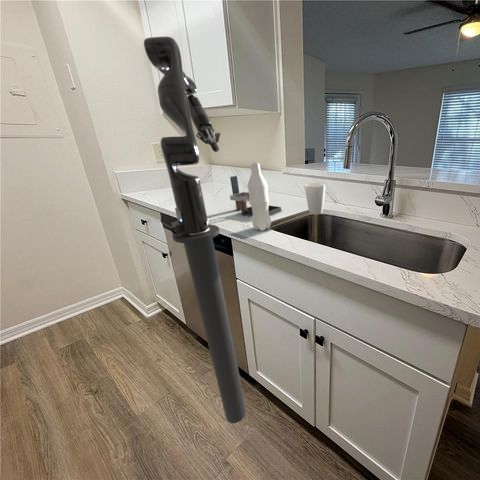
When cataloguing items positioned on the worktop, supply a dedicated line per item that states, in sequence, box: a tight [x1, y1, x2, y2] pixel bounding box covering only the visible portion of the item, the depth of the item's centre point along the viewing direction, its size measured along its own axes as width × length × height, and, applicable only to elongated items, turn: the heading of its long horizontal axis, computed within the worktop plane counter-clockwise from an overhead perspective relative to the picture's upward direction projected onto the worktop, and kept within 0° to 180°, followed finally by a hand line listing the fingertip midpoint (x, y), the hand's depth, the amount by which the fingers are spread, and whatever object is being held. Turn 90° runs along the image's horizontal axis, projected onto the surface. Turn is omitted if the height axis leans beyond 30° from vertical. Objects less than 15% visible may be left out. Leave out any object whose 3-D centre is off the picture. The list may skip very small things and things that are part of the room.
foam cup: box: [304, 182, 326, 216], centre depth 119 cm, size 10×9×13 cm
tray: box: [240, 205, 282, 217], centre depth 123 cm, size 14×12×2 cm
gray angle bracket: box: [229, 175, 250, 204], centre depth 124 cm, size 12×12×11 cm
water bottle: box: [247, 162, 272, 232], centre depth 98 cm, size 7×7×25 cm
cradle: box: [234, 200, 248, 216], centre depth 126 cm, size 10×15×7 cm
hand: (216, 150), depth 127 cm, fingers closed
